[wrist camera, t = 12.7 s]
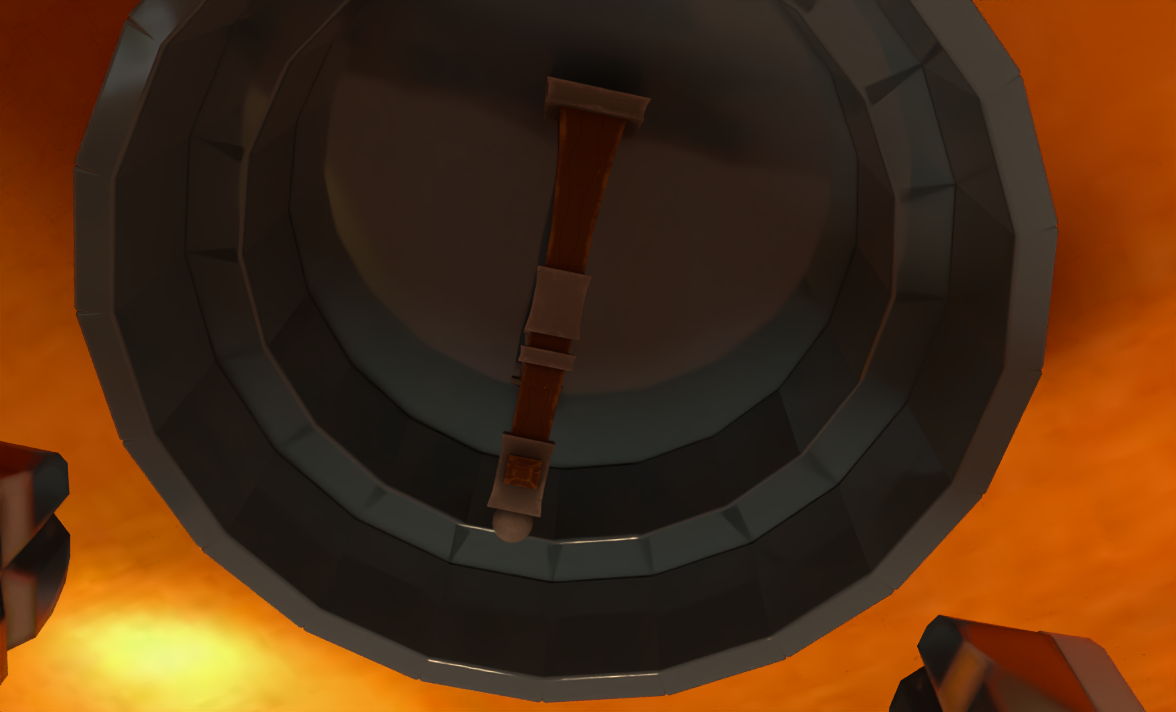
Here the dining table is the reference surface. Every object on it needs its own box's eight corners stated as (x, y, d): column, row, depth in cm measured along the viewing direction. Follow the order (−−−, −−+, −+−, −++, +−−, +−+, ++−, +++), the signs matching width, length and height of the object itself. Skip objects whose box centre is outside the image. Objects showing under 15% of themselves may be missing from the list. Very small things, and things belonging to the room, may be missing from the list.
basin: (205, 443, 22) (76, 621, 17) (244, -274, 16) (64, -350, 11) (803, 559, 24) (860, 761, 18) (1049, -75, 17) (1246, -56, 12)
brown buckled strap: (469, 495, 21) (455, 543, 17) (542, 125, 21) (547, 72, 16) (552, 510, 21) (561, 562, 17) (625, 143, 21) (653, 95, 16)
